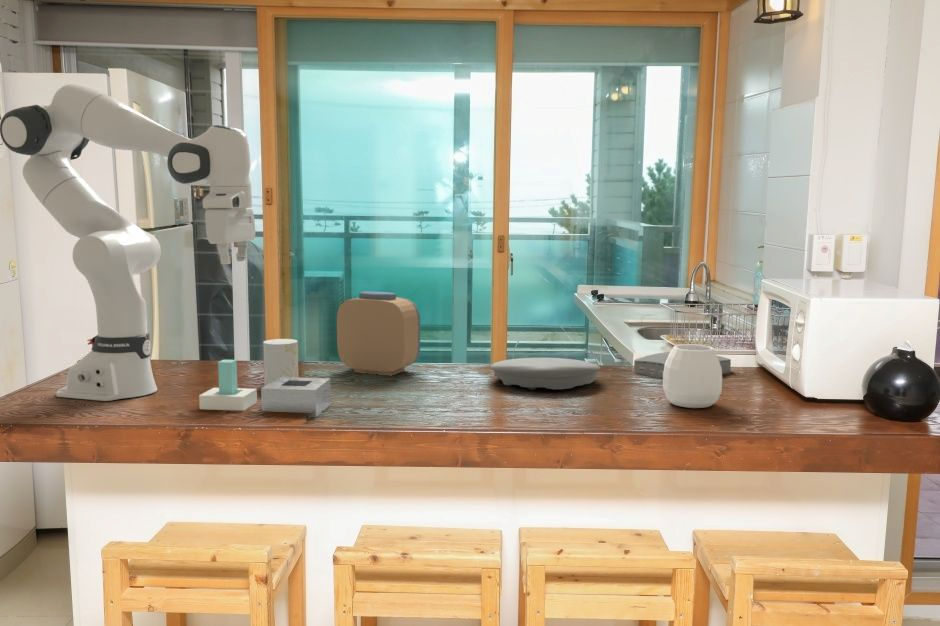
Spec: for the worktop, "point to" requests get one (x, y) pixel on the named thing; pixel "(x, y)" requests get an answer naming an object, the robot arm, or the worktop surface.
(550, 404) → the worktop surface
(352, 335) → the alarm clock
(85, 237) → the robot arm
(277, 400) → the port
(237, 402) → the white square-hole block
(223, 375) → the plug
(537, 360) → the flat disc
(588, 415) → the worktop surface
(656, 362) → the electronic device
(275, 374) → the cup
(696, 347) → the cup
